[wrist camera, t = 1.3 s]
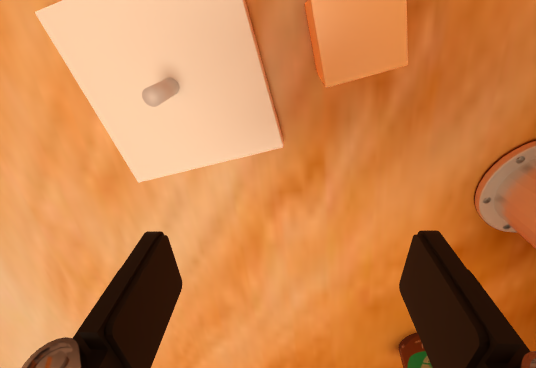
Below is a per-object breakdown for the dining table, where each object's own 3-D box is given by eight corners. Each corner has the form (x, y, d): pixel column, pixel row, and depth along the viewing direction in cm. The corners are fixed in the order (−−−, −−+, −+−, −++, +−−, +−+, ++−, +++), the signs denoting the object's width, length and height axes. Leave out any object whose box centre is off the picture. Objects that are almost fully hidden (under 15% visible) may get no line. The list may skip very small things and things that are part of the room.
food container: (459, 321, 46) (500, 390, 37) (461, 340, 48) (499, 409, 40) (385, 333, 48) (406, 399, 40) (391, 351, 51) (412, 416, 43)
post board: (228, -60, 22) (209, -89, 16) (283, 140, 31) (283, 166, 25) (51, 12, 25) (-15, 9, 20) (145, 174, 34) (118, 204, 28)
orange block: (373, -20, 23) (405, -36, 17) (379, 55, 26) (408, 65, 20) (304, 4, 24) (310, -3, 18) (317, 73, 27) (326, 87, 21)
